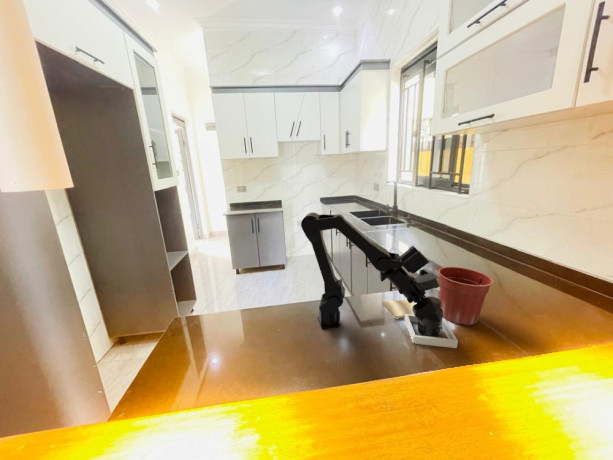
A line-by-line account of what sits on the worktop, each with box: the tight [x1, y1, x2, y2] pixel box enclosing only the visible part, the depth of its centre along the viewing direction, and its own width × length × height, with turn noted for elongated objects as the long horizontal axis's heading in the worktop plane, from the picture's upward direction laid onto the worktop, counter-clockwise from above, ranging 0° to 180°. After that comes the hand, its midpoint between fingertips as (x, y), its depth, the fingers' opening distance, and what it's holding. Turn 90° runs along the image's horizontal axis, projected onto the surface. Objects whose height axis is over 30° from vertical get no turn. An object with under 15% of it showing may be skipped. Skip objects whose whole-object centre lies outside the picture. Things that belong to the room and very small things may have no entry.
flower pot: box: [437, 266, 494, 326], centre depth 90 cm, size 16×16×16 cm
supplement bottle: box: [416, 295, 444, 338], centre depth 81 cm, size 7×7×12 cm
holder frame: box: [403, 314, 459, 349], centre depth 82 cm, size 13×13×2 cm
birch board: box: [381, 299, 416, 320], centre depth 96 cm, size 12×10×1 cm
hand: (435, 315), depth 81 cm, fingers closed on supplement bottle, 7 cm apart
